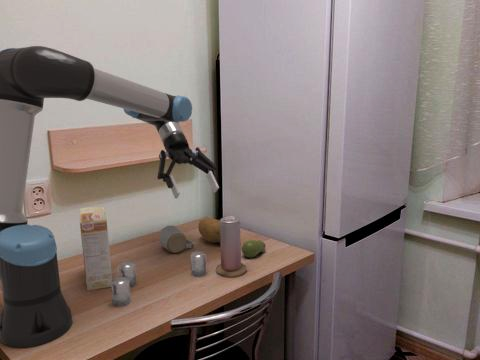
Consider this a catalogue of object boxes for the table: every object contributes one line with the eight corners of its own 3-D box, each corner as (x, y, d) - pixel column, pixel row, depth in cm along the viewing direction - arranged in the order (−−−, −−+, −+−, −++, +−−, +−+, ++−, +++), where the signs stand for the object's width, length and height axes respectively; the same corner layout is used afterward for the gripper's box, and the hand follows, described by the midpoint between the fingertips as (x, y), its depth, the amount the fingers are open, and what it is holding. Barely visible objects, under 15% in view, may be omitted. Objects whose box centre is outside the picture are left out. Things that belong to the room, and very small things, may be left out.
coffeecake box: (85, 269, 129) (79, 208, 125) (110, 266, 131) (104, 205, 127) (86, 291, 115) (78, 222, 111) (113, 286, 118) (107, 219, 114)
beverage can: (218, 265, 128) (217, 217, 125) (237, 262, 130) (236, 215, 127) (224, 273, 123) (222, 223, 119) (243, 270, 124) (242, 221, 121)
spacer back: (117, 287, 117) (115, 267, 116) (124, 280, 121) (123, 260, 120) (132, 288, 116) (130, 268, 115) (139, 281, 121) (137, 261, 119)
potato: (219, 250, 142) (218, 227, 141) (192, 240, 152) (191, 219, 150) (239, 242, 149) (239, 221, 147) (212, 233, 159) (212, 213, 157)
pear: (238, 240, 136) (256, 236, 144) (237, 256, 136) (255, 251, 144) (253, 243, 132) (270, 239, 140) (252, 260, 133) (269, 255, 141)
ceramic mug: (167, 256, 138) (166, 233, 137) (159, 248, 145) (158, 226, 144) (197, 250, 143) (196, 228, 142) (187, 242, 150) (187, 222, 149)
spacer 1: (109, 305, 107) (107, 283, 106) (118, 297, 112) (116, 276, 110) (125, 307, 106) (124, 285, 105) (133, 298, 111) (132, 277, 109)
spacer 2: (189, 276, 123) (188, 256, 122) (194, 269, 128) (193, 250, 126) (203, 277, 123) (203, 257, 121) (208, 270, 127) (207, 251, 126)
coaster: (212, 276, 123) (212, 273, 123) (220, 263, 132) (220, 260, 131) (243, 278, 121) (243, 275, 121) (248, 265, 130) (248, 262, 130)
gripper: (203, 144, 148) (227, 194, 139) (134, 149, 134) (156, 205, 125) (210, 130, 143) (236, 181, 134) (140, 133, 129) (163, 191, 120)
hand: (197, 192), depth 129 cm, fingers open, 13 cm apart
